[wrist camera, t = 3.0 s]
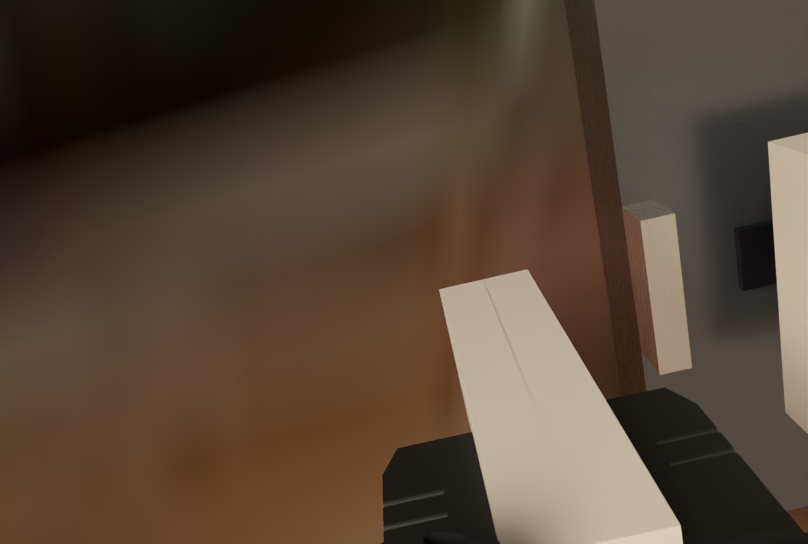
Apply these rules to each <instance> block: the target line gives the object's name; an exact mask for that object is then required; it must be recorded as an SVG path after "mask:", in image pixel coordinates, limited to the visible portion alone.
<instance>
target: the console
mask: <svg viewBox="0 0 808 544" xmlns="http://www.w3.org/2000/svg"><path fill="white" fill-rule="evenodd" d="M565 4H566V11H567V18H568V25H569V31H570V38H571V45H572V52H573V59H574V66H575V73H576V79H577V86H578V93H579V100H580V107H581V114H582V120H583V127H584V134H585V141H586V148H587V155H588V162H589V168H590V175H591V182H592V189H593V196H594V203H595V209H596V216H597V223H598V230H599V237H600V244H601V251H602V257H603V264H604V271H605V278H606V285H607V292H608V298H609V305H610V312H611V319H612V326H613V333H614V340H615V346H616V353H617V360H618V367H619V374H620V381H621V387H622V394H623V396H627V395H631V394H636V393H641V392H645V391H650V390H654V389H659V388H663V387H665V388H667V389H669V390H671V391H673V392H675V393H677V394H679V395H681V396H683V397H685V398H687V399H689V400H691V401H693V402H695V403H697V404H698V405H699V407H700V408H701V409H702V410H703V411H704V413H705V414H706V415H707V416H708V417H709V419H710V420H711V421H712V422H713V423H714V425H715V426H716V427H717V431H718V433H719V432H721V433H722V434H723V436H724V437H725V438H726V439H727V440H728V442H729V443H730V444H731V445H732V446H733V448H734V452H735V453H738V454H739V455H740V456H741V457H742V458H743V460H744V461H745V462H746V463H747V465H748V466H749V467H750V468H751V469H752V471H753V472H754V473H755V474H756V475H757V477H758V478H759V479H760V480H761V481H762V483H763V484H764V485H765V486H766V487H767V489H768V490H769V491H770V492H771V494H772V495H773V496H774V497H775V498H776V500H777V501H778V502H779V503H780V504H781V506H782V507H783V508H784V509H785V510H786V511H788V510H793V509H798V508H802V507H807V506H808V434H807V433H806V432H805V431H804V430H803V429H802V428H801V427H800V426H799V425H798V424H797V423H796V422H795V421H794V420H793V419H792V418H791V417H790V416H789V415H788V414H787V413H786V412H785V401H784V386H783V370H782V355H781V339H780V324H779V309H778V293H777V278H776V262H775V247H774V231H773V216H772V201H771V185H770V170H769V154H768V142H769V141H773V140H777V139H782V138H786V137H790V136H795V135H799V134H803V133H808V0H565Z"/></svg>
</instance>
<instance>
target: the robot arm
mask: <svg viewBox="0 0 808 544" xmlns="http://www.w3.org/2000/svg"><path fill="white" fill-rule="evenodd" d="M439 291H440V296H441V300H442V305H443V309H444V313H445V318H446V322H447V327H448V331H449V336H450V340H451V344H452V349H453V353H454V358H455V362H456V366H457V371H458V375H459V380H460V384H461V389H462V393H463V397H464V402H465V406H466V411H467V415H468V420H469V424H470V428H471V433H466V434H461V435H457V436H452V437H448V438H443V439H438V440H434V441H429V442H425V443H420V444H416V445H411V446H406V447H402V448H398V449H397V451H396V452H395V454H394V456H393V458H392V459H391V461H390V463H389V465H388V466H387V468H386V470H385V472H384V473H383V504H384V508H383V522H384V530H385V532H384V542H383V543H381V544H808V533H805V532H803V531H802V530H801V529H800V527H799V526H798V525H797V524H796V522H795V521H794V520H793V519H792V518H791V516H790V515H789V514H788V513H787V512H786V510H785V509H784V508H783V507H782V506H781V504H780V503H779V502H778V501H777V500H776V498H775V497H774V496H773V495H772V494H771V492H770V491H769V490H768V489H767V487H766V486H765V485H764V484H763V483H762V481H761V480H760V479H759V478H758V477H757V475H756V474H755V473H754V472H753V471H752V469H751V468H750V467H749V466H748V465H747V463H746V462H745V461H744V460H743V458H742V457H741V456H740V455H739V454H738V453H735V452H734V448H733V446H732V445H731V444H730V443H729V442H728V440H727V439H726V438H725V437H724V436H723V434H722V433H721V432H719V433H718V431H717V427H716V426H715V425H714V423H713V422H712V421H711V420H710V419H709V417H708V416H707V415H706V414H705V413H704V411H703V410H702V409H701V408H700V407H699V405H698V404H697V403H695V402H693V401H691V400H689V399H687V398H685V397H683V396H681V395H679V394H677V393H675V392H673V391H671V390H669V389H667V388H665V387H663V388H659V389H654V390H650V391H645V392H641V393H636V394H631V395H627V396H622V397H618V398H613V399H609V400H605V398H604V396H603V395H602V393H601V391H600V390H599V388H598V386H597V385H596V383H595V381H594V380H593V378H592V376H591V375H590V373H589V371H588V370H587V368H586V366H585V365H584V363H583V361H582V360H581V358H580V356H579V355H578V353H577V351H576V350H575V348H574V346H573V345H572V343H571V341H570V340H569V338H568V336H567V335H566V333H565V331H564V330H563V328H562V326H561V325H560V323H559V321H558V320H557V318H556V316H555V315H554V313H553V311H552V310H551V308H550V306H549V305H548V303H547V301H546V300H545V298H544V296H543V295H542V293H541V291H540V290H539V288H538V286H537V285H536V283H535V281H534V280H533V278H532V276H531V275H530V273H529V271H528V270H523V271H518V272H514V273H510V274H505V275H501V276H496V277H492V278H487V279H483V280H479V281H474V282H470V283H465V284H461V285H456V286H452V287H448V288H443V289H439Z"/></svg>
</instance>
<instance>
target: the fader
mask: <svg viewBox="0 0 808 544" xmlns="http://www.w3.org/2000/svg"><path fill="white" fill-rule="evenodd" d="M768 154H769V170H770V185H771V201H772V216H773V231H774V247H775V262H776V278H777V293H778V309H779V324H780V339H781V355H782V370H783V386H784V401H785V412H786V413H787V414H788V415H789V416H790V417H791V418H792V419H793V420H794V421H795V422H796V423H797V424H798V425H799V426H800V427H801V428H802V429H803V430H804V431H805V432H806V433H807V434H808V133H803V134H799V135H795V136H790V137H786V138H782V139H777V140H773V141H769V142H768Z"/></svg>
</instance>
